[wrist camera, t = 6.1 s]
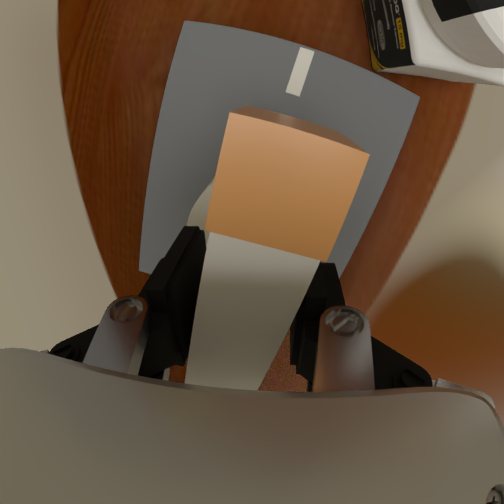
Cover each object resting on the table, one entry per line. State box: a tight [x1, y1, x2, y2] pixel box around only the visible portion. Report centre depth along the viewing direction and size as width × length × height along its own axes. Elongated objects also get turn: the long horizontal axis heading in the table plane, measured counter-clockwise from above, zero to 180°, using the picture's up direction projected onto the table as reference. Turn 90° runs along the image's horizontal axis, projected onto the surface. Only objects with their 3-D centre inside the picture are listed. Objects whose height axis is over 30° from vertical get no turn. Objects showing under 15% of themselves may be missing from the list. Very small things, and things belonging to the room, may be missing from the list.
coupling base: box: [139, 21, 420, 278], centre depth 18 cm, size 20×16×6 cm
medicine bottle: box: [362, 0, 504, 86], centre depth 8 cm, size 7×7×12 cm
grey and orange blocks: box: [185, 105, 370, 390], centre depth 11 cm, size 11×6×9 cm, turn 166°
